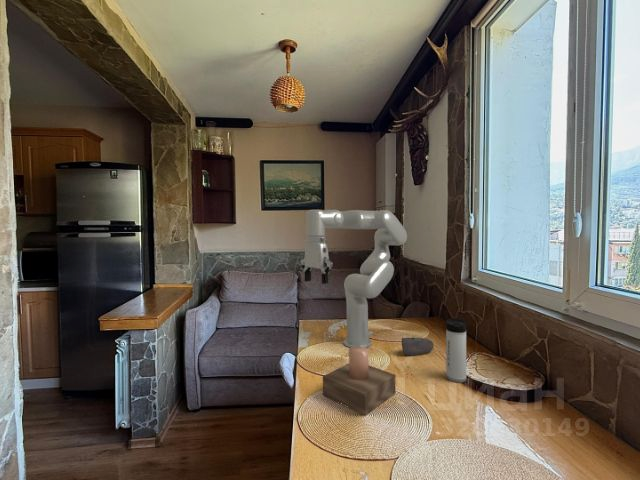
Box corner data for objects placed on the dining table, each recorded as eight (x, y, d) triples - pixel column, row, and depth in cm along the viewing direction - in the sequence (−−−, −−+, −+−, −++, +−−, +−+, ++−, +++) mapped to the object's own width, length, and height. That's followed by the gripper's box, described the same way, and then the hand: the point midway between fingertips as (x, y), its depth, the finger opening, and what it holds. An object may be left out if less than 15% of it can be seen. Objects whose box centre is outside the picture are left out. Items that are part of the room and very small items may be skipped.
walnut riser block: (354, 377, 108) (354, 360, 108) (395, 393, 97) (395, 374, 97) (322, 395, 96) (322, 376, 96) (365, 415, 85) (365, 394, 85)
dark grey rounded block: (430, 350, 132) (430, 334, 132) (437, 355, 127) (437, 338, 127) (397, 353, 130) (397, 336, 129) (402, 358, 124) (402, 341, 124)
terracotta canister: (356, 369, 101) (356, 344, 101) (372, 374, 97) (372, 349, 96) (345, 375, 96) (345, 350, 96) (361, 381, 92) (361, 355, 92)
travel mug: (465, 375, 109) (464, 318, 108) (467, 384, 102) (467, 323, 102) (445, 372, 111) (445, 317, 110) (446, 381, 104) (446, 322, 104)
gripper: (337, 240, 123) (338, 283, 123) (307, 239, 135) (308, 279, 135) (325, 240, 118) (325, 285, 118) (294, 240, 130) (295, 281, 130)
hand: (316, 282), depth 127 cm, fingers open, 9 cm apart
